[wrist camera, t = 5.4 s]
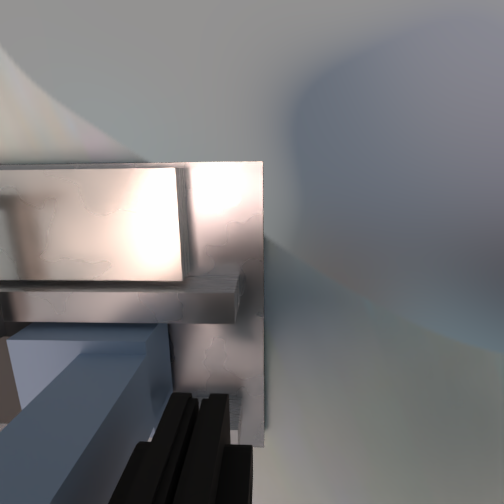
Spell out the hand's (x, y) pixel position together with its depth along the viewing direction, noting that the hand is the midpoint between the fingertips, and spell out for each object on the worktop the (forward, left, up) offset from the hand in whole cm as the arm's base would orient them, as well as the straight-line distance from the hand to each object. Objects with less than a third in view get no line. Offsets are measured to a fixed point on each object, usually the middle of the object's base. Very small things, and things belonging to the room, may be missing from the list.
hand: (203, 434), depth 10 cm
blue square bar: (+5, 0, -4) cm, 6 cm away
